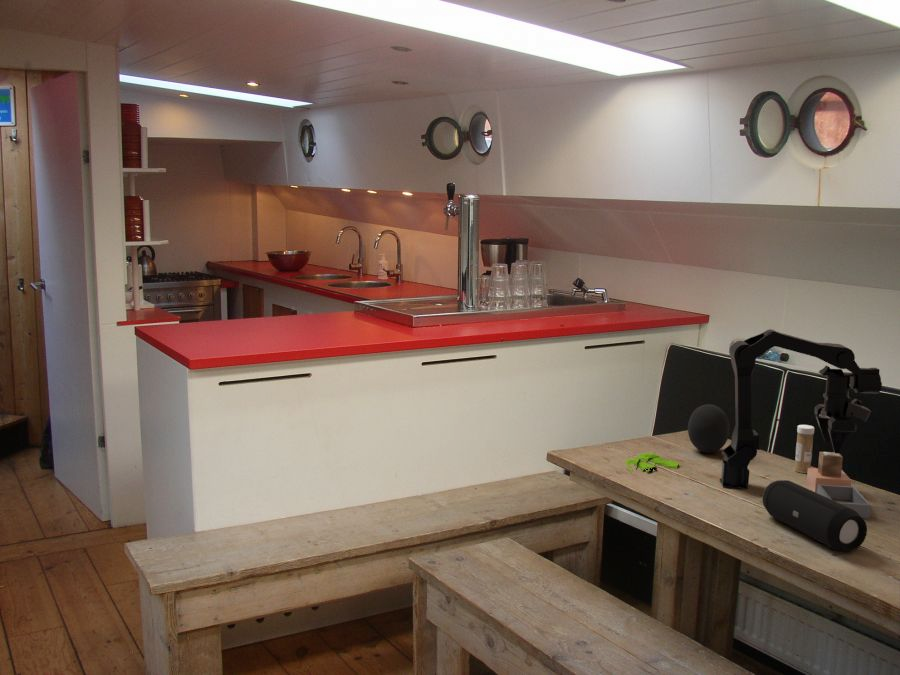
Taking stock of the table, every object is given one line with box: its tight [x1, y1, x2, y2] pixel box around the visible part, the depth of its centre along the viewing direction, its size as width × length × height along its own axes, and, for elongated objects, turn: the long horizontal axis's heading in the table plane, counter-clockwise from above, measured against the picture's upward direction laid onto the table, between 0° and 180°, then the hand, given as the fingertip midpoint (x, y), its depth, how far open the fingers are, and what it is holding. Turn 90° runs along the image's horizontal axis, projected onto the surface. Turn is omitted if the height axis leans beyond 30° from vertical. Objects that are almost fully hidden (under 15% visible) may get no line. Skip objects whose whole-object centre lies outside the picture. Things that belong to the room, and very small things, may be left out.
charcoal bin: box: [817, 485, 872, 520], centre depth 229 cm, size 9×14×4 cm, turn 172°
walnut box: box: [817, 451, 844, 477], centre depth 242 cm, size 5×4×6 cm
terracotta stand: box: [805, 467, 853, 493], centre depth 243 cm, size 9×9×4 cm
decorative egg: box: [687, 404, 731, 454], centre depth 275 cm, size 12×12×15 cm
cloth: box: [625, 452, 680, 475], centre depth 261 cm, size 20×22×2 cm
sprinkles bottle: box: [794, 424, 815, 474], centre depth 258 cm, size 5×5×14 cm
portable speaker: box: [762, 479, 868, 552], centre depth 210 cm, size 26×10×10 cm, turn 19°
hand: (832, 448), depth 241 cm, fingers open, 9 cm apart
